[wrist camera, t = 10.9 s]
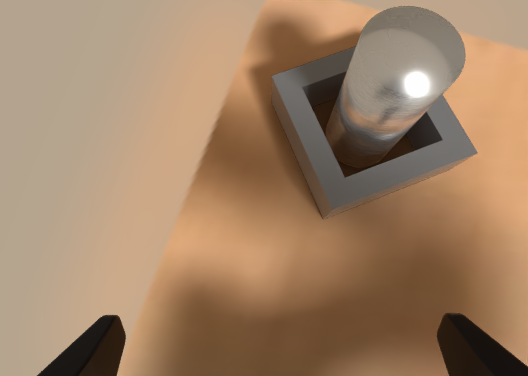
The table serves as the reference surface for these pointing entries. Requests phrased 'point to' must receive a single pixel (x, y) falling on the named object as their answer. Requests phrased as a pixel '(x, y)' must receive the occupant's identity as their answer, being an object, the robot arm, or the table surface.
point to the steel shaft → (392, 82)
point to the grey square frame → (320, 153)
